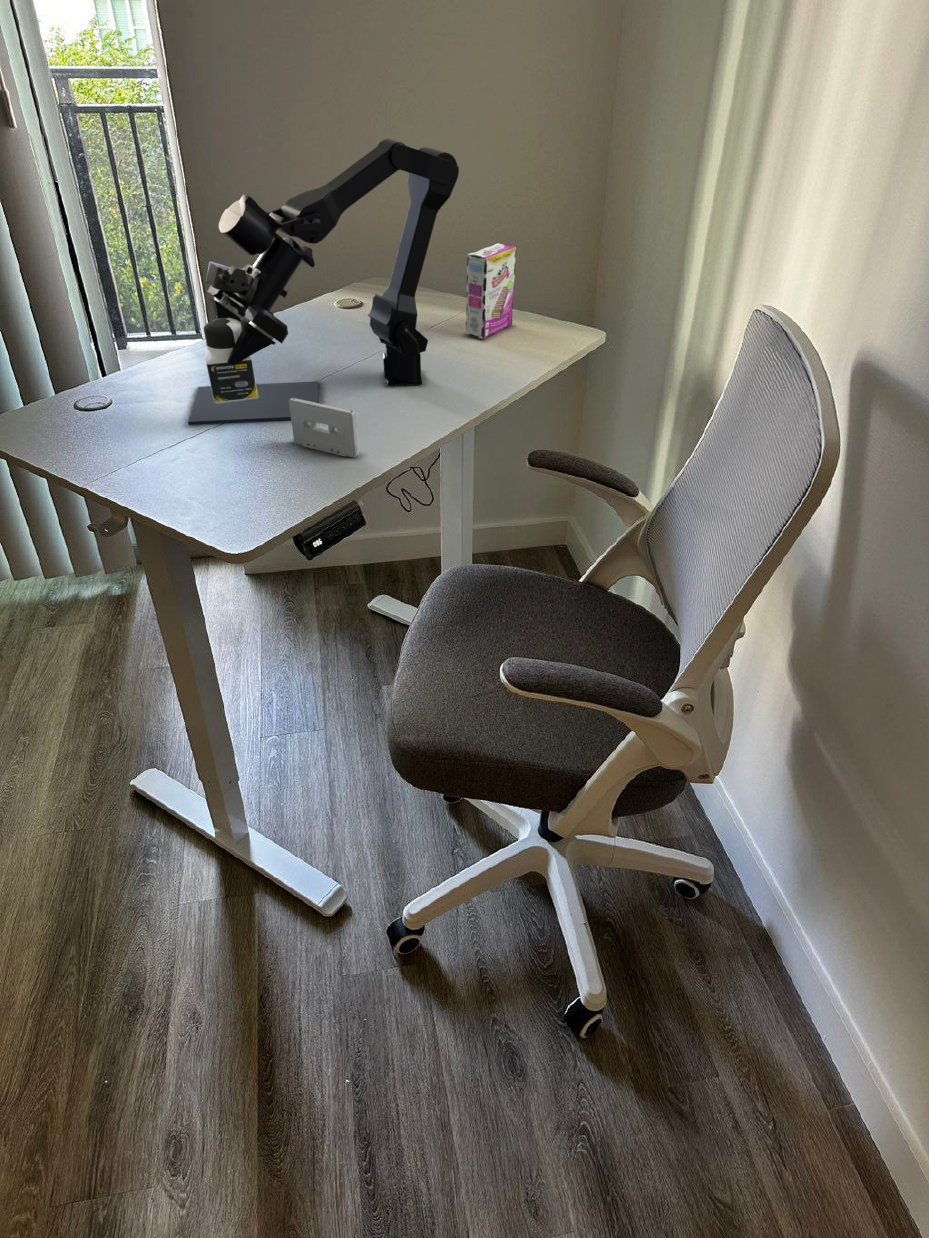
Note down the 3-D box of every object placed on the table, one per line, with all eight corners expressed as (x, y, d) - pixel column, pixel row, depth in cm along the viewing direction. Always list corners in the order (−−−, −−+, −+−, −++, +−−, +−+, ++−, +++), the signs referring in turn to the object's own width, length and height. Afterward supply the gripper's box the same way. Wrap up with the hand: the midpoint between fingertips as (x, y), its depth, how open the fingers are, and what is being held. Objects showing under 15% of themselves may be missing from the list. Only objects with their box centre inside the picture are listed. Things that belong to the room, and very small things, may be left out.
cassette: (360, 454, 138) (357, 410, 133) (354, 459, 137) (350, 414, 132) (298, 439, 142) (293, 396, 137) (292, 444, 141) (286, 400, 136)
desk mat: (319, 384, 160) (318, 381, 160) (318, 418, 149) (317, 415, 148) (199, 389, 158) (198, 386, 158) (188, 425, 146) (187, 421, 146)
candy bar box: (484, 340, 178) (486, 258, 168) (465, 335, 181) (465, 254, 170) (514, 325, 185) (517, 245, 175) (494, 321, 188) (496, 241, 178)
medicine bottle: (214, 404, 140) (199, 332, 133) (212, 387, 145) (198, 316, 138) (258, 399, 142) (246, 327, 134) (255, 382, 147) (243, 312, 139)
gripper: (208, 228, 137) (156, 311, 139) (257, 255, 125) (200, 346, 127) (261, 270, 145) (212, 348, 147) (312, 299, 133) (258, 384, 135)
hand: (219, 355), depth 139 cm, fingers closed on medicine bottle, 8 cm apart
